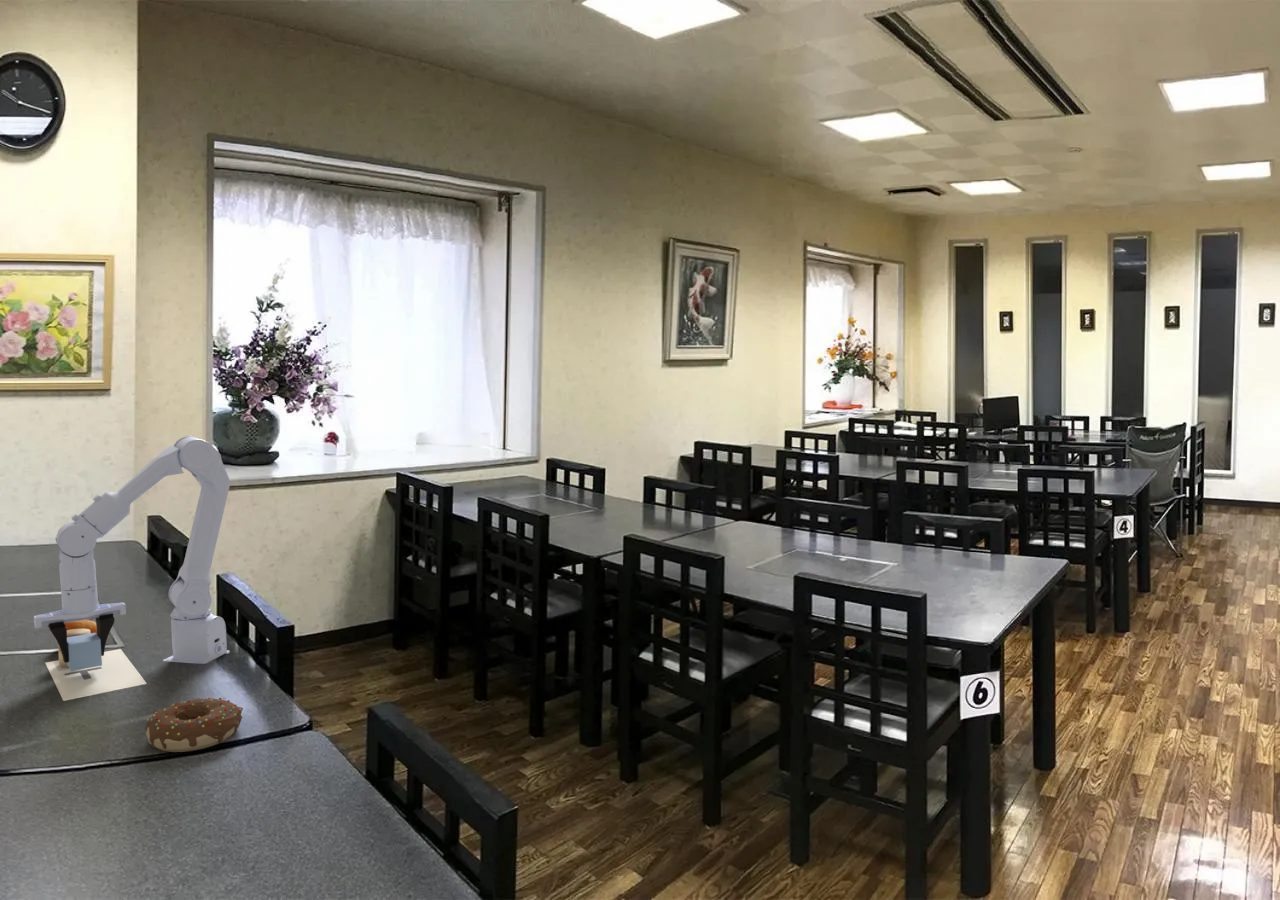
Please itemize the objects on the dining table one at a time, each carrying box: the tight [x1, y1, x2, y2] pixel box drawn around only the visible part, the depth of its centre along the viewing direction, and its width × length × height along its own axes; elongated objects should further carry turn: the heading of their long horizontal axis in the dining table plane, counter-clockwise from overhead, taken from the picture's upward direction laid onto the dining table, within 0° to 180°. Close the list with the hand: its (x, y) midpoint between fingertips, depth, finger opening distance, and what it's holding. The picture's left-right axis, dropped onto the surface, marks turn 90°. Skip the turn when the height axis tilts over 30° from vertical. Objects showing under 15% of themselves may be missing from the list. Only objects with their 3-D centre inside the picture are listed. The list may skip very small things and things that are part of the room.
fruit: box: [64, 619, 97, 634], centre depth 187 cm, size 8×8×8 cm
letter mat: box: [44, 648, 147, 702], centre depth 173 cm, size 13×25×1 cm, turn 39°
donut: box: [145, 697, 244, 753], centre depth 145 cm, size 14×14×5 cm
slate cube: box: [67, 633, 102, 671], centre depth 171 cm, size 5×5×5 cm
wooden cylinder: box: [57, 629, 91, 667], centre depth 178 cm, size 5×5×6 cm
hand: (83, 657), depth 172 cm, fingers closed on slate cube, 5 cm apart
